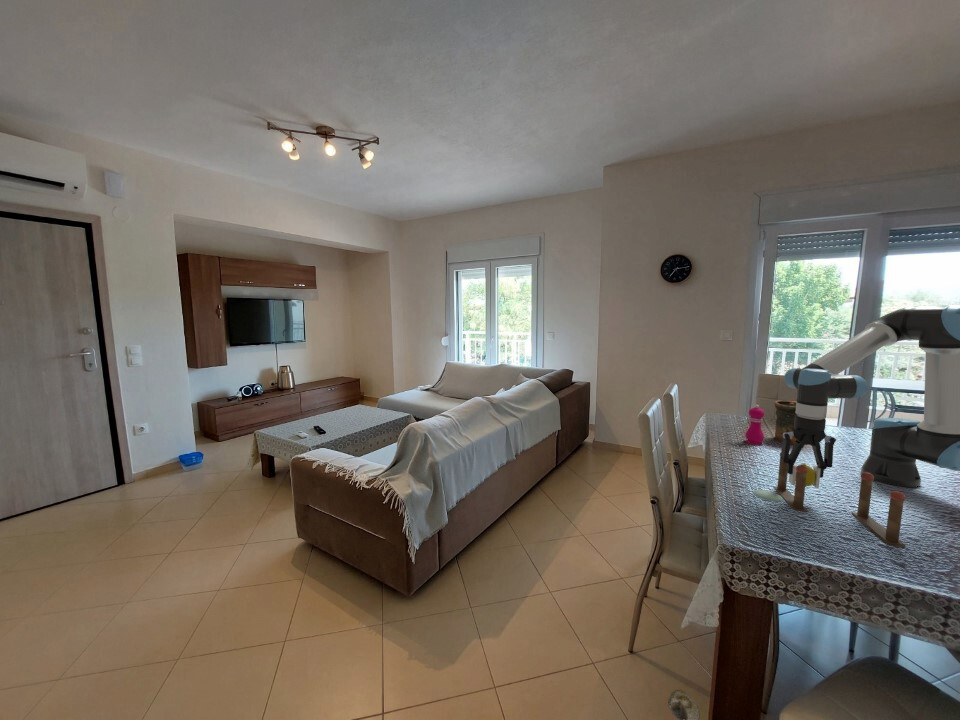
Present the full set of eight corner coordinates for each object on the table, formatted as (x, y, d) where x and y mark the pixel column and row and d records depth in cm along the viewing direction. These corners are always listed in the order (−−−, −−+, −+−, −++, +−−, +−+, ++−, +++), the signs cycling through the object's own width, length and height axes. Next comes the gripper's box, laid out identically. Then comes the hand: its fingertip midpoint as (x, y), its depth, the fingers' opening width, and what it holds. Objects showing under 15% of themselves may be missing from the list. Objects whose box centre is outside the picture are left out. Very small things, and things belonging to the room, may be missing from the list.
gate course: (842, 497, 127) (847, 456, 125) (904, 547, 99) (911, 495, 98) (773, 488, 133) (776, 449, 132) (813, 532, 106) (818, 483, 104)
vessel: (812, 450, 171) (817, 408, 169) (773, 445, 179) (777, 404, 176) (806, 442, 183) (810, 402, 181) (769, 437, 191) (773, 399, 188)
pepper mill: (759, 443, 181) (763, 403, 179) (765, 448, 174) (769, 406, 172) (742, 442, 183) (745, 402, 181) (747, 447, 176) (750, 405, 174)
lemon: (788, 484, 126) (789, 461, 125) (803, 483, 126) (804, 460, 126) (804, 491, 121) (804, 467, 120) (819, 490, 121) (820, 466, 120)
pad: (777, 493, 130) (777, 492, 130) (786, 504, 122) (787, 502, 122) (750, 490, 132) (750, 488, 132) (757, 500, 125) (758, 498, 125)
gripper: (840, 416, 121) (832, 484, 124) (771, 411, 127) (765, 476, 130) (853, 422, 114) (845, 494, 117) (780, 416, 120) (773, 485, 123)
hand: (803, 484), depth 123 cm, fingers closed on lemon, 5 cm apart
